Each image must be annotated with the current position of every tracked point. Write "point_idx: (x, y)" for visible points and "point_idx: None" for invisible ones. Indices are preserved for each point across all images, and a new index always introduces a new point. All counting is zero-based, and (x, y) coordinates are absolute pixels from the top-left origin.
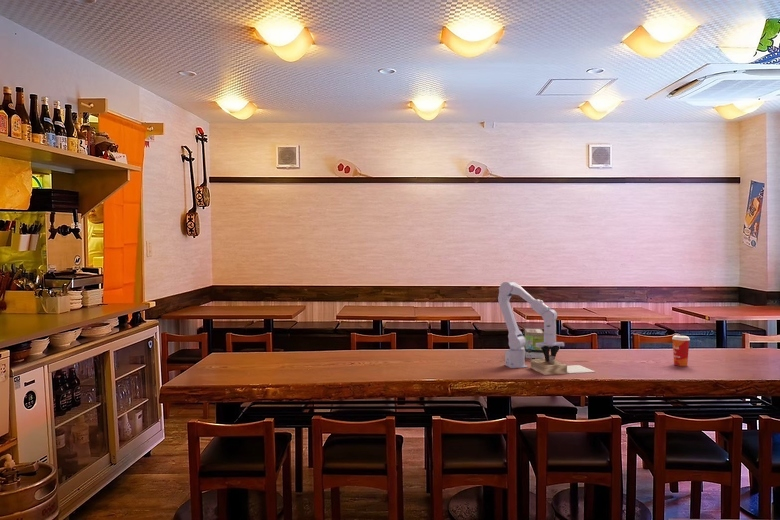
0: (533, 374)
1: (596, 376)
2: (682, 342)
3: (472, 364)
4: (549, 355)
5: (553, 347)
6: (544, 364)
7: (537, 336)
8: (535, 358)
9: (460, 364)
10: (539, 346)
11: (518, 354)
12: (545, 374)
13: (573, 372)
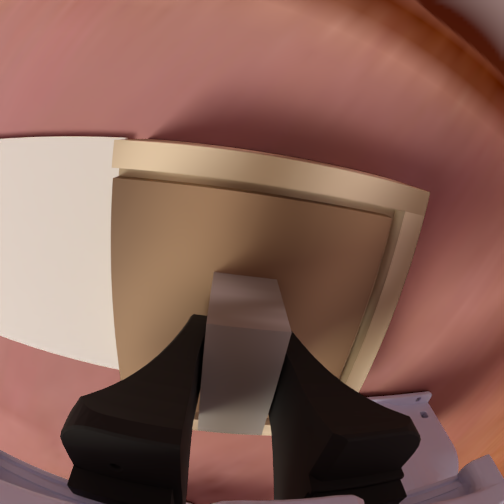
0: (441, 222)
1: (9, 27)
2: None
3: (470, 442)
4: (240, 394)
5: (181, 483)
6: (364, 268)
7: None
8: None
9: (491, 437)
10: (448, 485)
11: (418, 465)
12: (373, 174)
13: (80, 137)
